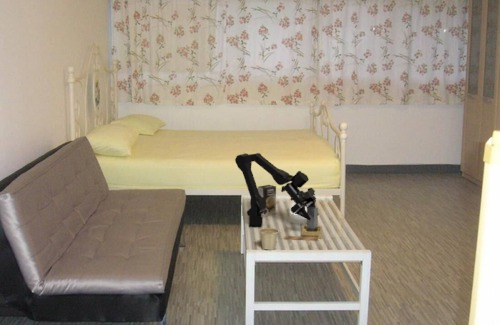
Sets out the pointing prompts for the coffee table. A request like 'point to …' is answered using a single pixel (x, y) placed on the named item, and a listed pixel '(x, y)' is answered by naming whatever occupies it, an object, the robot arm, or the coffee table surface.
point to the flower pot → (268, 238)
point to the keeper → (312, 232)
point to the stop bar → (312, 219)
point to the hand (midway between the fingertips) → (314, 217)
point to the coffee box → (268, 198)
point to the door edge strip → (301, 238)
